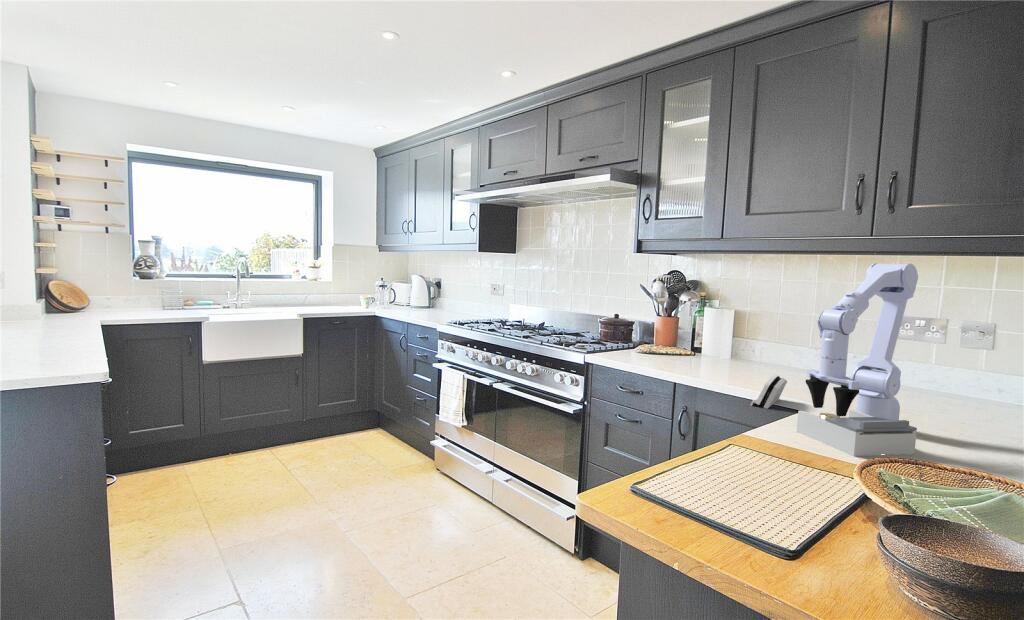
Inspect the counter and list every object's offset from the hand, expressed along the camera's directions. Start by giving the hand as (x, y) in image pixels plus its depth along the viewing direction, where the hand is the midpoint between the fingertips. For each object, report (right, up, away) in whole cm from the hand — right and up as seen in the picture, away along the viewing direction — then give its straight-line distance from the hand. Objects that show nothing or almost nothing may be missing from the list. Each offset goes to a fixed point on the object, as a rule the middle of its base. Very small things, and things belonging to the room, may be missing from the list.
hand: (829, 411), depth 134 cm
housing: (+3, -7, -5) cm, 9 cm away
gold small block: (0, -6, +1) cm, 6 cm away
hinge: (+1, -4, +33) cm, 34 cm away
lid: (+4, -1, -9) cm, 10 cm away
